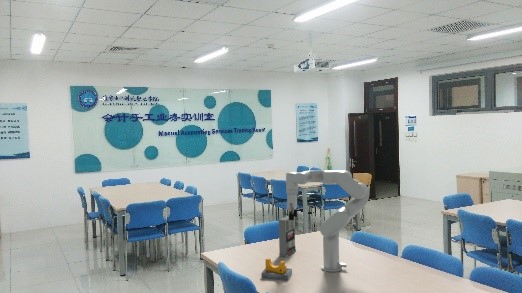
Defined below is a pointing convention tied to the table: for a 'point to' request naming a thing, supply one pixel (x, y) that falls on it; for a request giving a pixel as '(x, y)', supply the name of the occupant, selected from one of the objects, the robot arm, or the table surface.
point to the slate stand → (276, 274)
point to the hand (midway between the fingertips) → (292, 218)
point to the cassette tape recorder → (286, 236)
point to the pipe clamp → (271, 267)
